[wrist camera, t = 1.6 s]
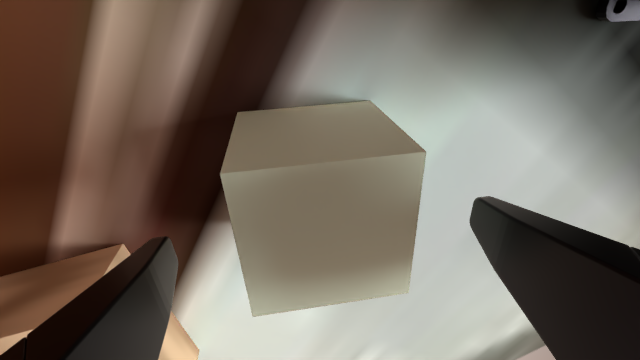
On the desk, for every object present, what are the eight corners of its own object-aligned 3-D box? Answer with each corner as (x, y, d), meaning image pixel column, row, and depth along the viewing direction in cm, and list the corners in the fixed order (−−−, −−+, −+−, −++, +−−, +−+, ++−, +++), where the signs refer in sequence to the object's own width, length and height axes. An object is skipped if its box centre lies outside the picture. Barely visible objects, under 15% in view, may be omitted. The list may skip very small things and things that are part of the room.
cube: (369, 100, 12) (426, 151, 8) (366, 207, 15) (408, 292, 10) (237, 111, 12) (219, 173, 7) (257, 221, 14) (252, 316, 10)
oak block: (125, 239, 14) (77, 317, 10) (200, 345, 18) (183, 427, 14) (-55, 287, 14) (-165, 383, 10) (61, 384, 18) (10, 476, 14)
